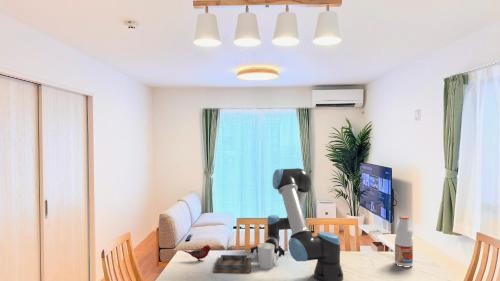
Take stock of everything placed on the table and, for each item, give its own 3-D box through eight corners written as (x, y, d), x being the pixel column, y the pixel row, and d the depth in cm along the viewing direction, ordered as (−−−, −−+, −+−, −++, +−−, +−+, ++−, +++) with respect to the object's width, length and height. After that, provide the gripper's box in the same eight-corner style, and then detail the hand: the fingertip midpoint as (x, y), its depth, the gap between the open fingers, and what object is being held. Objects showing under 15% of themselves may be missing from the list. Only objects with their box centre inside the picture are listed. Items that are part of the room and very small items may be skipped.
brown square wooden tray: (250, 259, 200) (250, 253, 200) (249, 273, 180) (249, 267, 180) (218, 259, 201) (218, 253, 201) (213, 272, 181) (213, 266, 181)
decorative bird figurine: (211, 262, 195) (211, 246, 195) (181, 261, 197) (181, 244, 197) (212, 261, 198) (212, 244, 198) (183, 259, 200) (183, 243, 200)
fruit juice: (401, 260, 199) (401, 213, 198) (416, 265, 191) (416, 217, 190) (391, 263, 194) (391, 215, 193) (406, 269, 186) (406, 219, 185)
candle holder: (254, 267, 188) (254, 246, 187) (261, 262, 196) (262, 241, 196) (270, 271, 183) (270, 249, 183) (277, 265, 192) (277, 244, 191)
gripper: (290, 251, 205) (287, 265, 185) (251, 249, 211) (243, 261, 190) (290, 239, 205) (287, 251, 184) (251, 237, 211) (243, 248, 190)
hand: (265, 256), depth 187 cm, fingers open, 13 cm apart
